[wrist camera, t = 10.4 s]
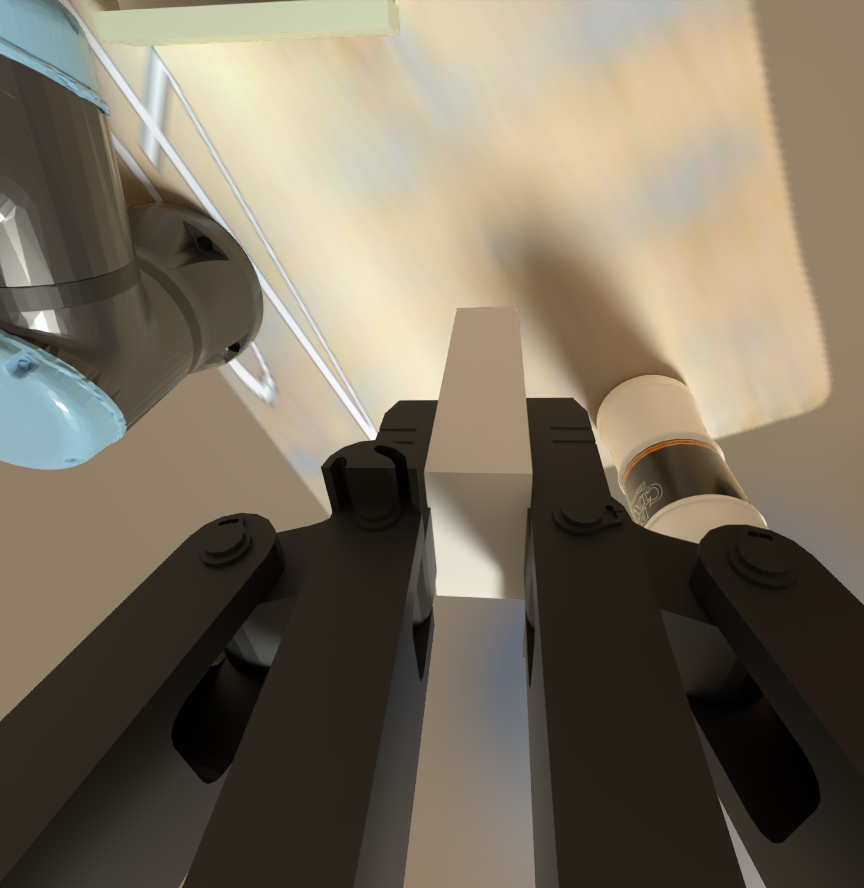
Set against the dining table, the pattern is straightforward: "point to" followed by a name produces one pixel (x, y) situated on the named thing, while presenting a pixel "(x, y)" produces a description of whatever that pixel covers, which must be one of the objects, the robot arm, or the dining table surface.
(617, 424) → the vodka
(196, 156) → the dining table surface
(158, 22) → the rest
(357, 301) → the dining table surface
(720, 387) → the dining table surface
